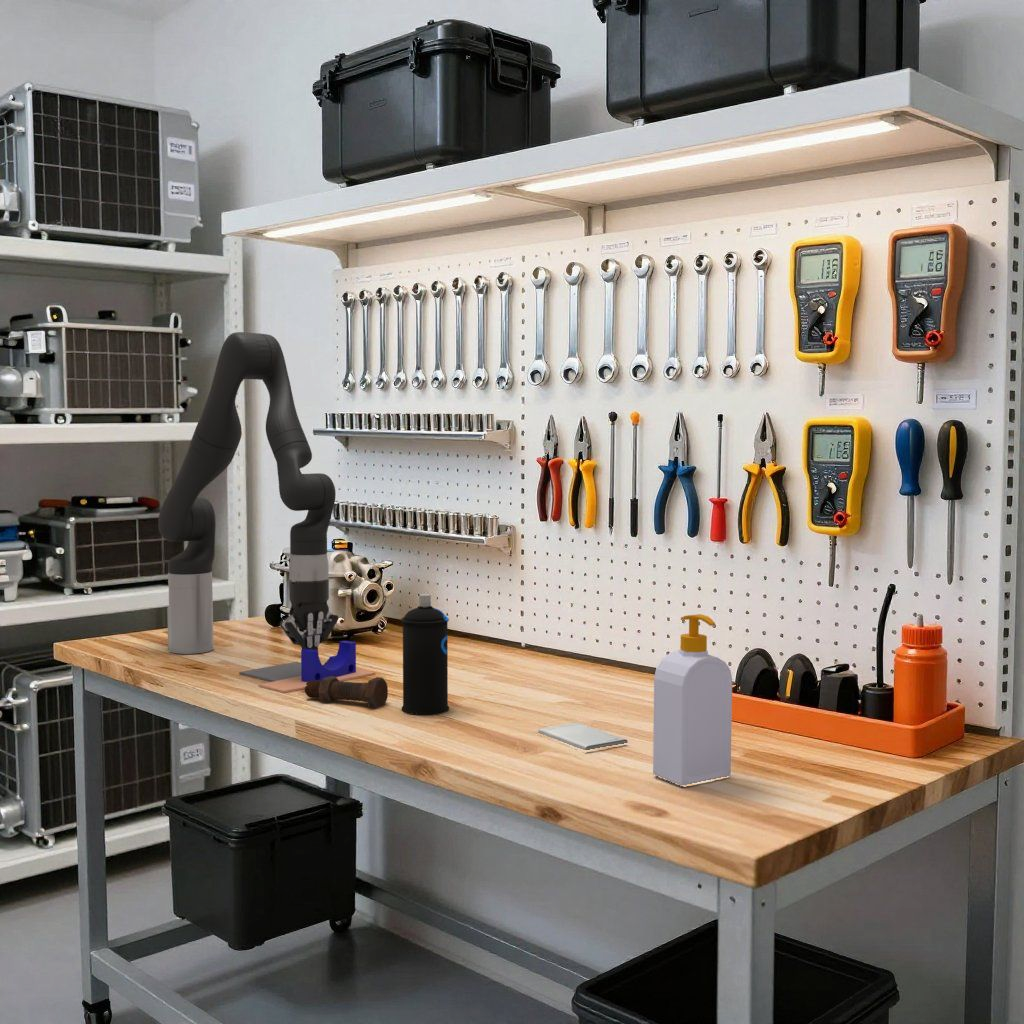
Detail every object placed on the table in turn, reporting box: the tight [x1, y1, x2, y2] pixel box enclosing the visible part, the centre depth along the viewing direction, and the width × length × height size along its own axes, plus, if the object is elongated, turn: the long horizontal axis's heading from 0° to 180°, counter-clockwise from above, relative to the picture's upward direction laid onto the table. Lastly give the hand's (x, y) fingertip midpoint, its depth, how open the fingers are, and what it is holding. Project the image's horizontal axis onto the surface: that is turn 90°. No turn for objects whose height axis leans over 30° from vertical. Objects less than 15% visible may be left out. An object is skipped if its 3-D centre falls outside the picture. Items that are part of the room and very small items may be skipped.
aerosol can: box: [400, 593, 450, 716], centre depth 198 cm, size 8×8×20 cm
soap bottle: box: [652, 613, 733, 785], centre depth 159 cm, size 9×7×23 cm
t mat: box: [238, 661, 376, 694], centre depth 225 cm, size 20×22×1 cm
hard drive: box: [537, 722, 629, 750], centre depth 179 cm, size 2×8×12 cm
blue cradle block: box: [300, 640, 357, 682], centre depth 223 cm, size 12×4×6 cm, turn 145°
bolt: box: [304, 676, 389, 709], centre depth 204 cm, size 6×5×15 cm
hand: (309, 665), depth 223 cm, fingers closed
